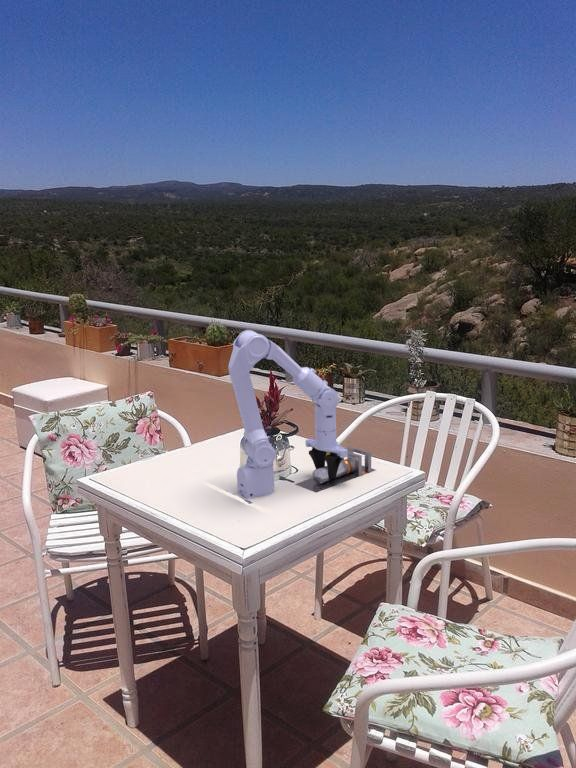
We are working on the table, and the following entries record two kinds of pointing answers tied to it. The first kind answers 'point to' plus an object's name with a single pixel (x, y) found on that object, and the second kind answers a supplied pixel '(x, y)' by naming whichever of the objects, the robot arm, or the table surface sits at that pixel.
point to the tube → (343, 469)
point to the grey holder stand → (359, 471)
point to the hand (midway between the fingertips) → (326, 476)
